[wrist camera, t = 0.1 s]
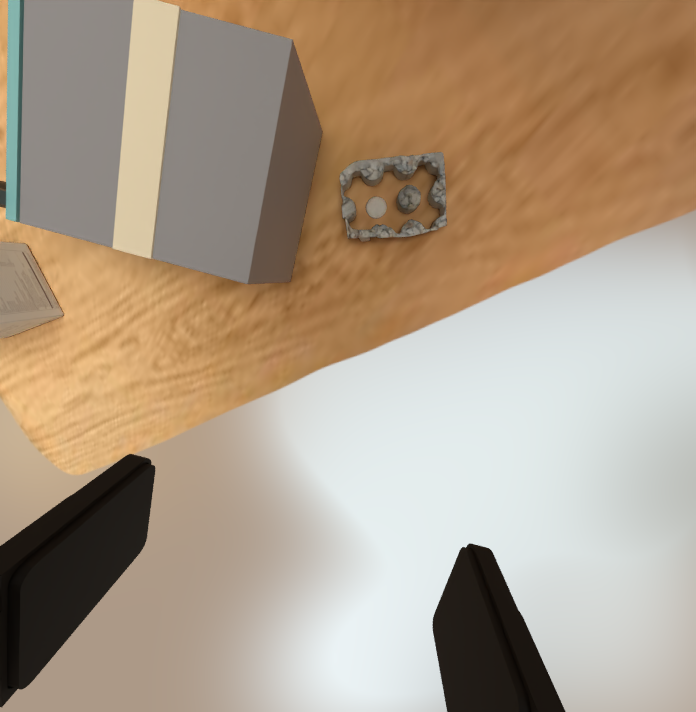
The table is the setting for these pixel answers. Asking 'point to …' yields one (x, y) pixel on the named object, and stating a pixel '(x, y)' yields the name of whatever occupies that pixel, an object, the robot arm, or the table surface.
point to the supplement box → (23, 292)
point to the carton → (166, 135)
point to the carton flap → (14, 111)
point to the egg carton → (406, 198)
